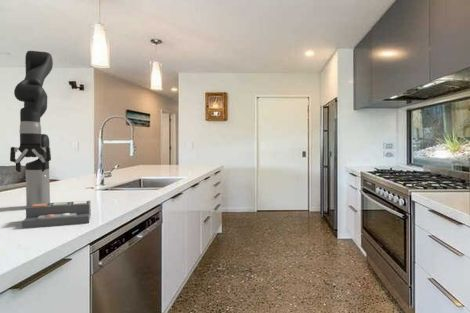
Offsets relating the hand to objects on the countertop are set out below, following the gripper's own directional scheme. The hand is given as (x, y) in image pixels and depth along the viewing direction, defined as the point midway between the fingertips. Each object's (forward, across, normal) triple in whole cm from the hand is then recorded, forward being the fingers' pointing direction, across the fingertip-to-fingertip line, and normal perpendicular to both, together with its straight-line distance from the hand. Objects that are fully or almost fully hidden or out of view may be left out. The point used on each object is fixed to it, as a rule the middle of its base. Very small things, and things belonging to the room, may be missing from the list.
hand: (31, 171), depth 134 cm
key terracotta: (+13, -6, +18) cm, 23 cm away
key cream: (+14, -19, +18) cm, 30 cm away
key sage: (+13, -13, +18) cm, 26 cm away
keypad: (+18, -13, +20) cm, 30 cm away
